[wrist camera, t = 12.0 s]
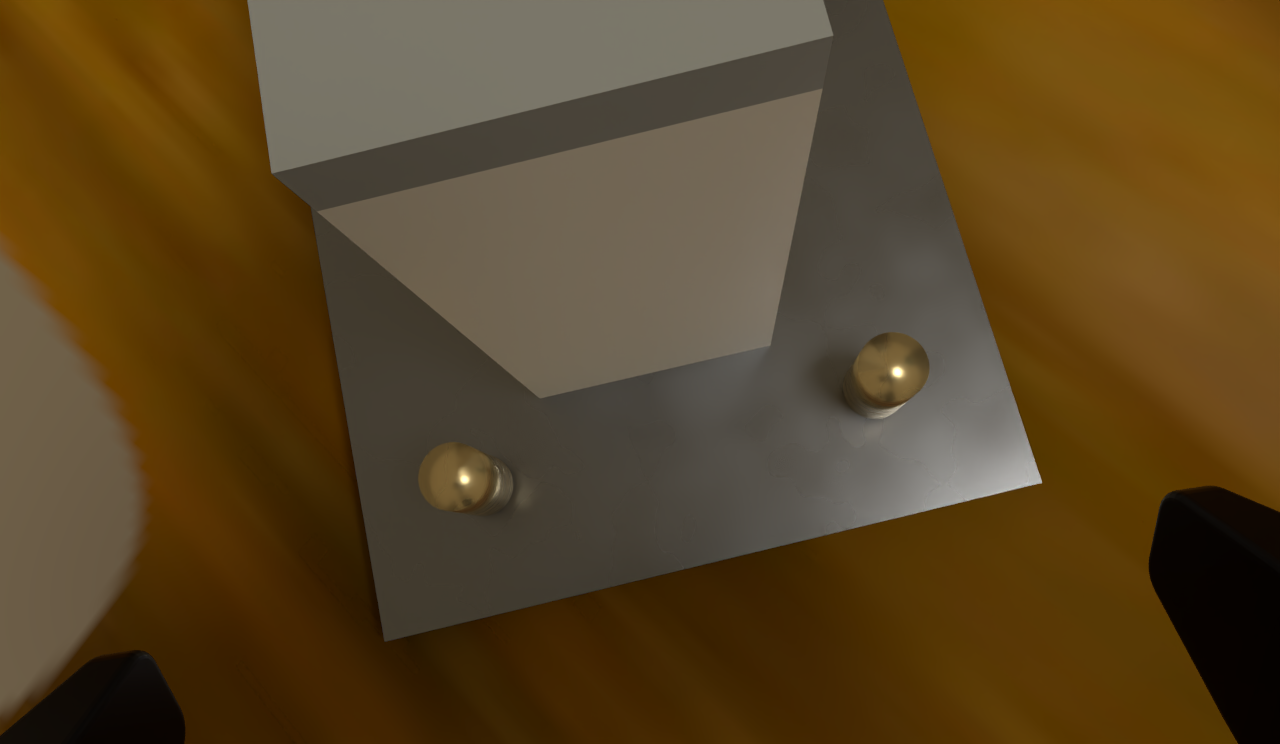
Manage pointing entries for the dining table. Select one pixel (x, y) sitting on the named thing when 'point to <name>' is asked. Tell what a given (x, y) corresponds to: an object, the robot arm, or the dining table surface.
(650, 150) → the module box
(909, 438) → the plate
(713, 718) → the dining table surface
